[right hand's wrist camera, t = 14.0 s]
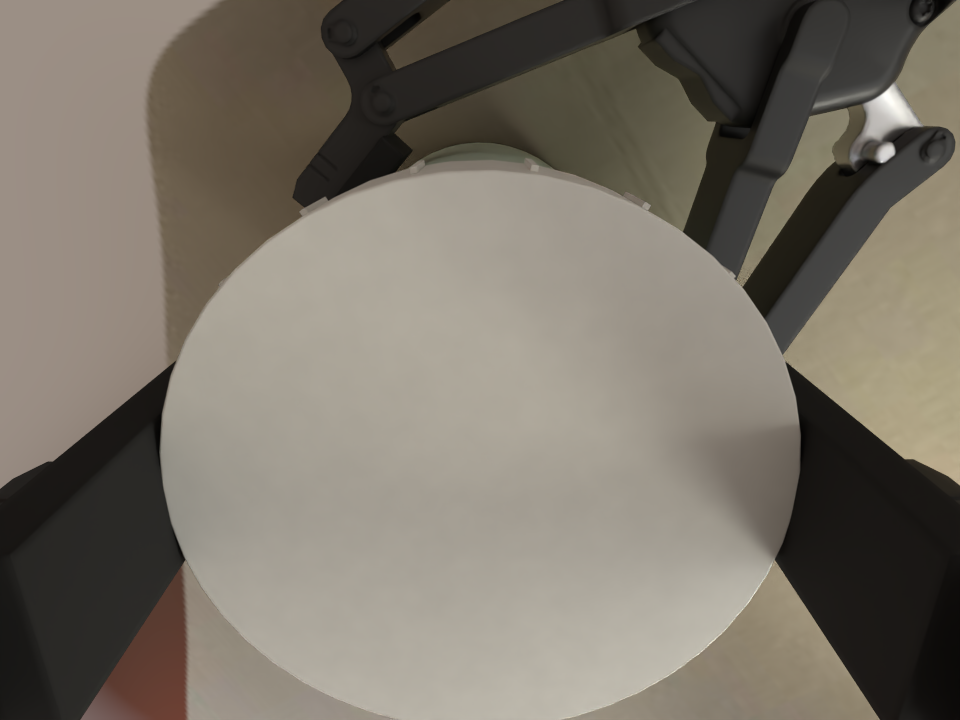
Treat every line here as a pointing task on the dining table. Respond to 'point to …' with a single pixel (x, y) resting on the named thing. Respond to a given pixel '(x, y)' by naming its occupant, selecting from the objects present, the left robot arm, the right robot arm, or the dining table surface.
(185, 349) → the lid
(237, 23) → the dining table surface
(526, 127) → the dining table surface
